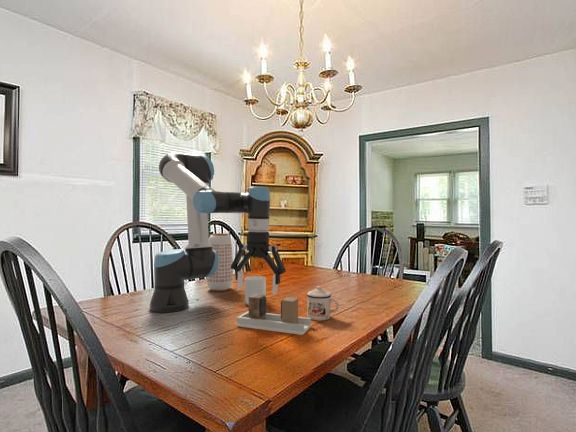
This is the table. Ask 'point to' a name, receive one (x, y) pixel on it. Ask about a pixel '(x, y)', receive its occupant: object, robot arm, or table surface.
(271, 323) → the rail
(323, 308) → the teacup with lid
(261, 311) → the block
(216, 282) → the white patterned vase
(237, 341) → the table surface
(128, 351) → the table surface
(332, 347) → the table surface
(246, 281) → the mug
